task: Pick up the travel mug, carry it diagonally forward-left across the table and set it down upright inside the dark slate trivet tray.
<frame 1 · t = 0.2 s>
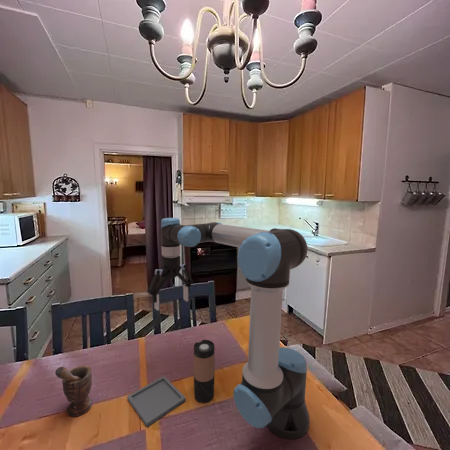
hand: (172, 304, 107), 28 cm above the table, fingers open, 13 cm apart
travel mug: (204, 396, 94), on the table
slate tray: (156, 400, 91), on the table
mortar and pestle: (77, 412, 86), on the table
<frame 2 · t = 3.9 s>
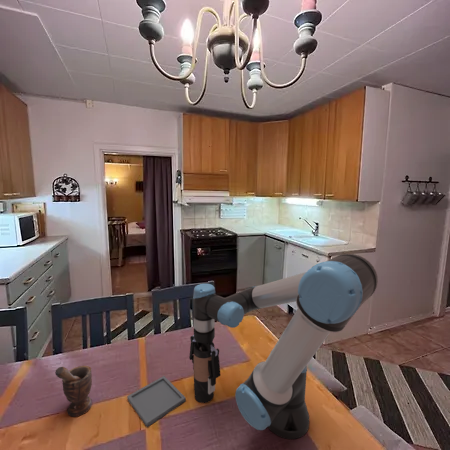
hand: (204, 385, 93), 4 cm above the table, fingers closed on travel mug, 8 cm apart
travel mug: (204, 396, 94), on the table, touching gripper
everything else where it was.
when the fingers open (6 cm above the table, at t = 9.2 s): travel mug drops 1 cm, resting on slate tray.
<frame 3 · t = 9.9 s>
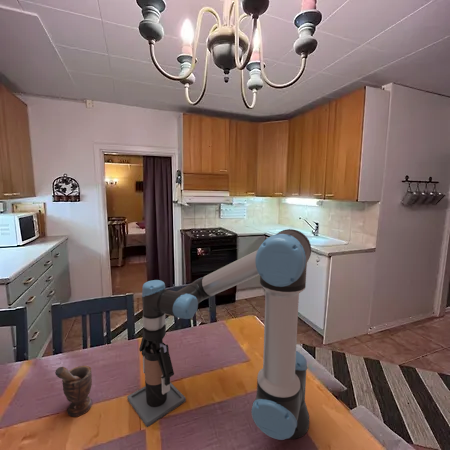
hand: (156, 381, 90), 8 cm above the table, fingers open, 13 cm apart
travel mug: (156, 399, 91), resting on slate tray
everything else where it was.
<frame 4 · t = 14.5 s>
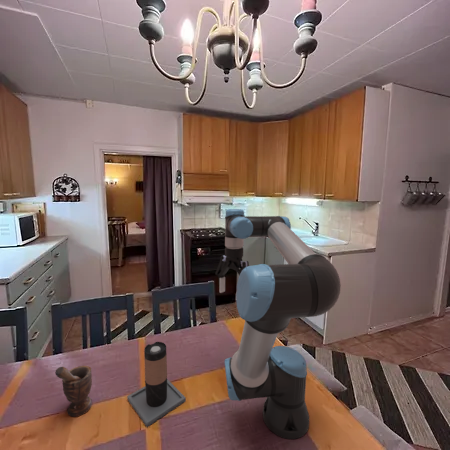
hand: (233, 296, 106), 32 cm above the table, fingers open, 13 cm apart
nothing on the table moved.
at the end: travel mug inside the target area on the slate tray (0.1 cm from its centre), point 0.4 cm above the slate tray's base; travel mug tilted 0°; the gripper is holding nothing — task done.
